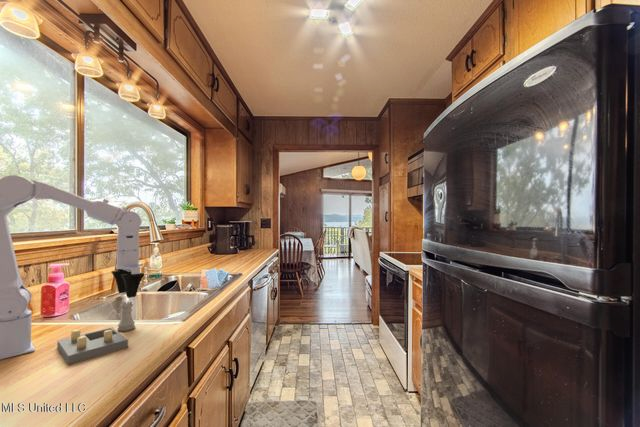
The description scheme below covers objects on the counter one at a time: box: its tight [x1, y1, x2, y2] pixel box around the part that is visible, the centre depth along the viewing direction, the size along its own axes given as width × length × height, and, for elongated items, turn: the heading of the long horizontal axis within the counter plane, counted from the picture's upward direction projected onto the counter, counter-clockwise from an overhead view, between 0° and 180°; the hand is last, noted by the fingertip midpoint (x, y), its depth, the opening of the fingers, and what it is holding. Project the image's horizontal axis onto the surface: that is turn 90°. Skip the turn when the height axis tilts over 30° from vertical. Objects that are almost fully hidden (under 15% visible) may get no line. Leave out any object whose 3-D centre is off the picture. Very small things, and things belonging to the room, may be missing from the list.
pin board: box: [56, 326, 129, 365], centre depth 76 cm, size 13×12×4 cm
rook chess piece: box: [117, 301, 136, 332], centre depth 89 cm, size 4×4×8 cm
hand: (127, 294), depth 89 cm, fingers open, 7 cm apart
